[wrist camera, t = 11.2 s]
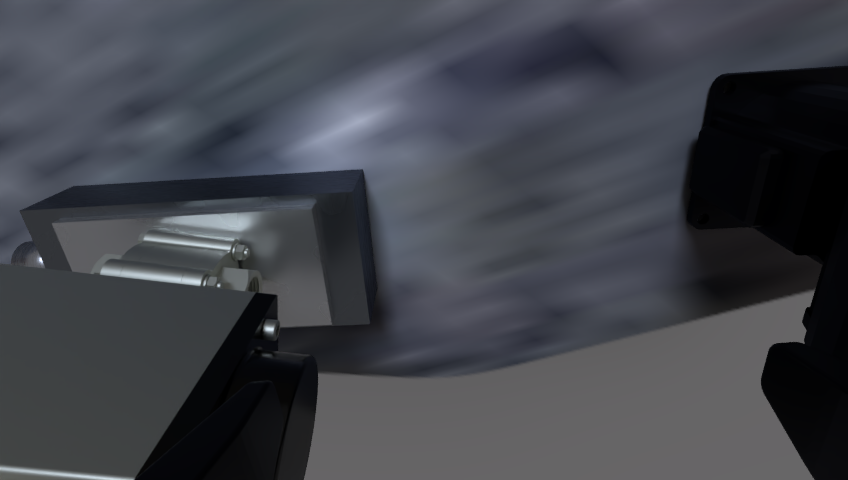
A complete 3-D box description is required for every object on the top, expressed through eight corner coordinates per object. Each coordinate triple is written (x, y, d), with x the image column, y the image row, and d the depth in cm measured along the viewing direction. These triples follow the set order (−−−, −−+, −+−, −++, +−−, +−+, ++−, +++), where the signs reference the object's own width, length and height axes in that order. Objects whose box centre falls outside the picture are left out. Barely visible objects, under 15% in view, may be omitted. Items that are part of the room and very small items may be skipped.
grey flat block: (362, 169, 20) (350, 196, 17) (377, 288, 23) (368, 331, 20) (30, 189, 21) (-42, 218, 18) (79, 302, 23) (24, 346, 20)
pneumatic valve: (36, 195, 17) (-629, 486, 6) (352, 233, 18) (229, 562, 7) (65, 319, 20) (-388, 687, 9) (344, 349, 20) (243, 734, 9)
